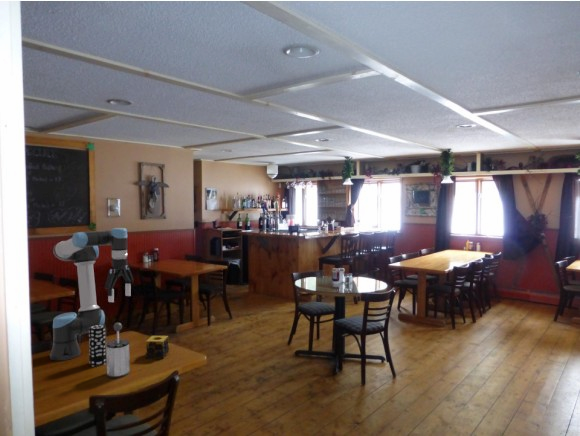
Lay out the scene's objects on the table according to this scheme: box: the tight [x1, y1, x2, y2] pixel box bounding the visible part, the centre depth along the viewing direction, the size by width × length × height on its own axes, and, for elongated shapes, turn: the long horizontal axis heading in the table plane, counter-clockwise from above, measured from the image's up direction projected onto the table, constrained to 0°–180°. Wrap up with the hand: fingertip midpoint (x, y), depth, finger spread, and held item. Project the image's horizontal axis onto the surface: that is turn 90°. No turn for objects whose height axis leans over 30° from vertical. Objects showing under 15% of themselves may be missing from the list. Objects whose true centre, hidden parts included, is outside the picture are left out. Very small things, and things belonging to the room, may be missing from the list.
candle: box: [145, 335, 170, 360], centre depth 238 cm, size 10×10×10 cm
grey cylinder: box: [106, 338, 130, 379], centre depth 215 cm, size 10×13×16 cm
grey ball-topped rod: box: [113, 322, 123, 343], centre depth 213 cm, size 8×8×24 cm
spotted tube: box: [88, 324, 107, 367], centre depth 226 cm, size 8×8×20 cm
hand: (119, 298), depth 218 cm, fingers open, 13 cm apart
